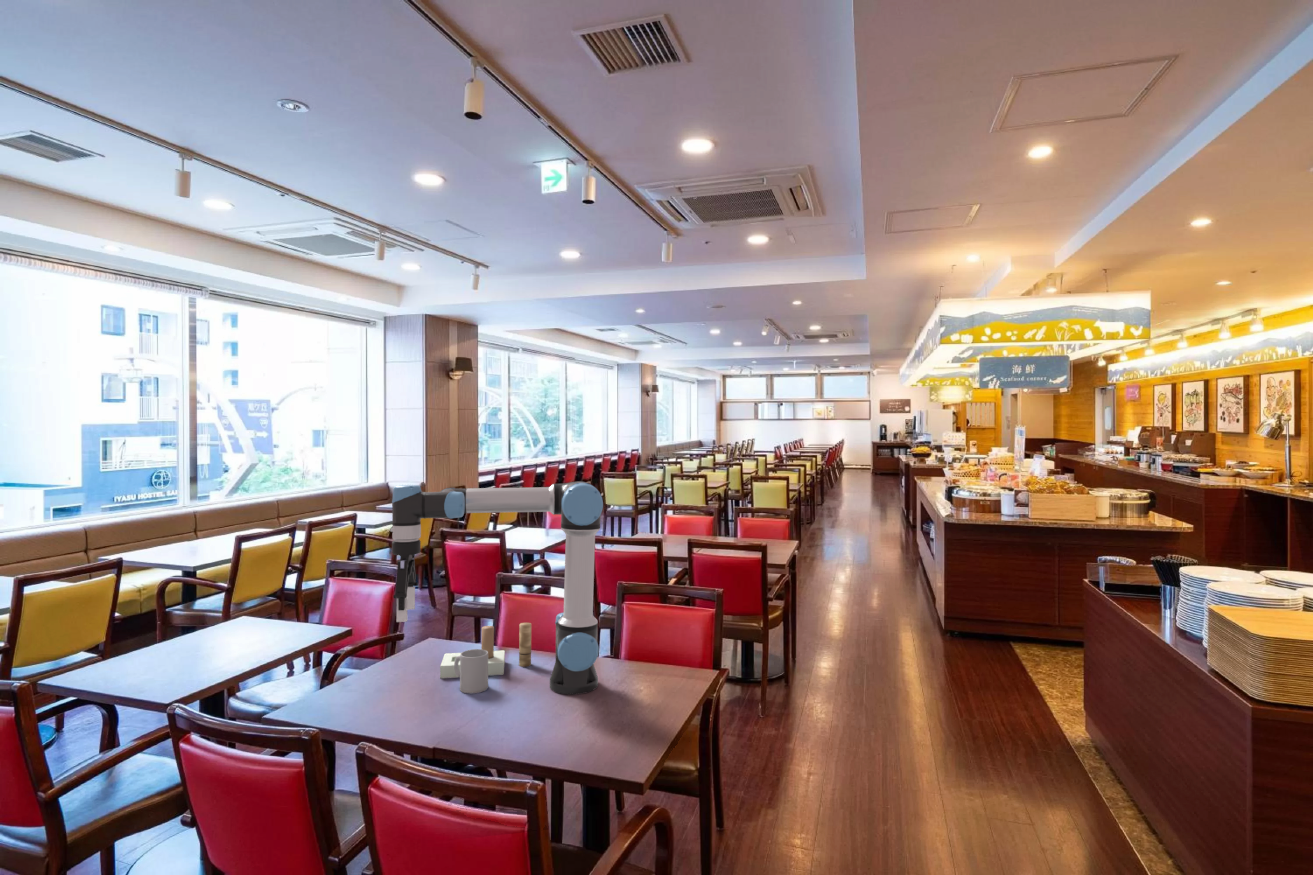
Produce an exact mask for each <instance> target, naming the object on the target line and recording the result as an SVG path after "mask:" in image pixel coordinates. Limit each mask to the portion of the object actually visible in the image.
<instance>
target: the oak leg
mask: <svg viewBox="0 0 1313 875" xmlns="http://www.w3.org/2000/svg"><path fill="white" fill-rule="evenodd" d="M518 626H519V628H518V629H519V634H518V638H519V640H518V641H519V646H518V647H519V648H518V651H519V652H518V656H519V657H518V666H519V667H521V668H522V667H523V668H528V667H530V666H532V623H531V622H520V623H519V625H518Z"/></svg>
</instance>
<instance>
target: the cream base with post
mask: <svg viewBox="0 0 1313 875" xmlns="http://www.w3.org/2000/svg"><path fill="white" fill-rule="evenodd" d="M494 634H495V627H494V625H484V626H482V627H481V644H480V645H481V647H480V649H482V650H486V651H488V677H489V676H502V675H504V673H505V660H506V659H505V658H506V654H505V653H506V652H505V650H494V648H495V647H494V645H495V644H494V643H495V641H494V640H495V639H494V638H495V636H494ZM461 653H462V652H453V653H452V652H450V653H448V652H447V653H444V655H443V658H442V660H441V663H440V666H439V668H440V669H439V679H454V678H455V679H456V678H459V677H458V676H457V675H456V674H455V670H454V663H455V659H456V657H457V656H460V654H461ZM458 668H459V671H460V660H459V663H458Z"/></svg>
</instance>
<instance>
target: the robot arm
mask: <svg viewBox="0 0 1313 875" xmlns="http://www.w3.org/2000/svg"><path fill="white" fill-rule="evenodd" d="M421 488H422V487H421V486H420V485H419V484H399V485H395V486H394V487H393V489H392V499H391V500H392V501H391V503H392V504H391V505H392V506H391V509H392V510H391V512H392V514H391V515H392V517H391V518H392V522H391V523H392V528H391V527H390V531H389V532H391V533H392V540H393V541H392V542H391V553H392V555H394V556H400V559H399V560H398V561H397V562H396V563H397V564H396V565H397V572H396V583H395V584H396V585H395V592H394V593H395V594H394V595H393V599H396V619H395V620H396V623H404V622H408V611H409V610H416V587H417V586H418V583H419V582H418V581H417V578H416V577H417V576H416V574H417V573H416V564H415V563H416V561H415V560H416V559H415V556H416V555H418V554H420V553H421V546H422V542H421V540H420V539H421V538H422V525H421V524H422V523H421V522H422V521H421V520H422V519H452V520H453V519H457V518H462V517H463V516H464V514H473V513H474V514H481V513H482V514H483V513H537V512H540V513H541V512H542V513H543V512H545V513H546V512H549V513H550V514H552V515H555V516H556V515H560V529H561V530H562V531H563V533H565V549H564V550H565V553H564V554H565V555H564V556H565V557H564V558H565V560H564V585H563V586H564V591H563V612H560V613H558V614H556V616H555V622H554V624H555V661H554V662H555V663H554V665H553V668H552V672H551V674H550V678H549V688H550V690H551V691H552V692H554V693H558V694H562V695H581V694H586V693H590V692H593V691H594V690H596V689H597V688H598V686H599V677H598V673H597V670H596V667H595V662H596V661H597V659H598V655H599V653H600V652H599V651H600V647H599V644H598V619H597V618H596V617H595V616H594V612H593V611H594V587H595V586H594V584H595V582H594V581H595V580H594V579H595V548H596V534H597V533H598V532H599V531H600V530H601V522H602V520H601V519H602V518H601V516H602V513H603V508H604V502H603V497H602V494H601V492H600V491H599V490H598V489H597V487H595V486H594V485H592V484H590V483H589V482H586V481H583V480H579V481H571V482H565V483H552V484H551V485H550V486H546V487H543V486H541V487H538V486H537V487H535V486H534V487H533V486H532V487H485V488H484V487H481V488H480V487H479V488H478V487H477V488H476V487H475V488H474V487H472V488H470V487H469V488H455V487H446V488H444V489H442V490H440V491H422V489H421Z"/></svg>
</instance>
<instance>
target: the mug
mask: <svg viewBox="0 0 1313 875" xmlns="http://www.w3.org/2000/svg"><path fill="white" fill-rule="evenodd" d="M460 653H461V654H460V656H457V657H456V659H455V663H454V670H455V674H456V675H457V676H458V677H457V678H459V690H460V692H461V693H463V694H470V695H471V694H479V693H482V692H485V691H486V690H488V688H489V676H488V651H486V650H482V649H481V648H475V649H467V650H465V651H462V652H460ZM459 660H460V671H459V668H458V663H459Z"/></svg>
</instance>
